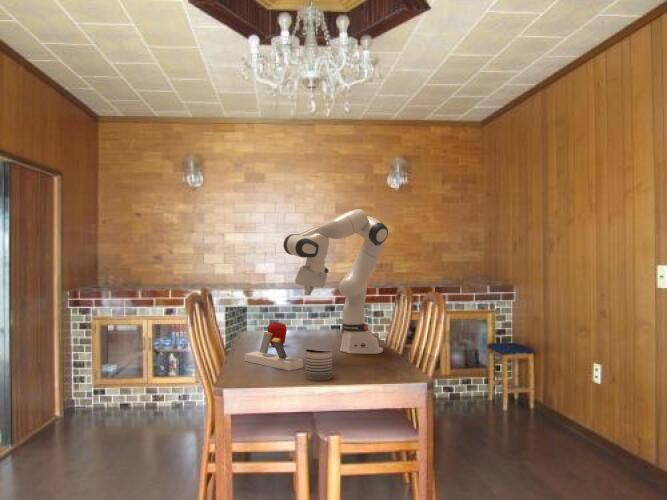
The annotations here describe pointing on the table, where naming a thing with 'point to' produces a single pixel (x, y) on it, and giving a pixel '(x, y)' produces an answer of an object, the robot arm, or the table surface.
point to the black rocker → (279, 348)
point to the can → (318, 363)
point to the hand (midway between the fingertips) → (307, 295)
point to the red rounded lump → (277, 332)
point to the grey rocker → (265, 342)
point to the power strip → (274, 361)
